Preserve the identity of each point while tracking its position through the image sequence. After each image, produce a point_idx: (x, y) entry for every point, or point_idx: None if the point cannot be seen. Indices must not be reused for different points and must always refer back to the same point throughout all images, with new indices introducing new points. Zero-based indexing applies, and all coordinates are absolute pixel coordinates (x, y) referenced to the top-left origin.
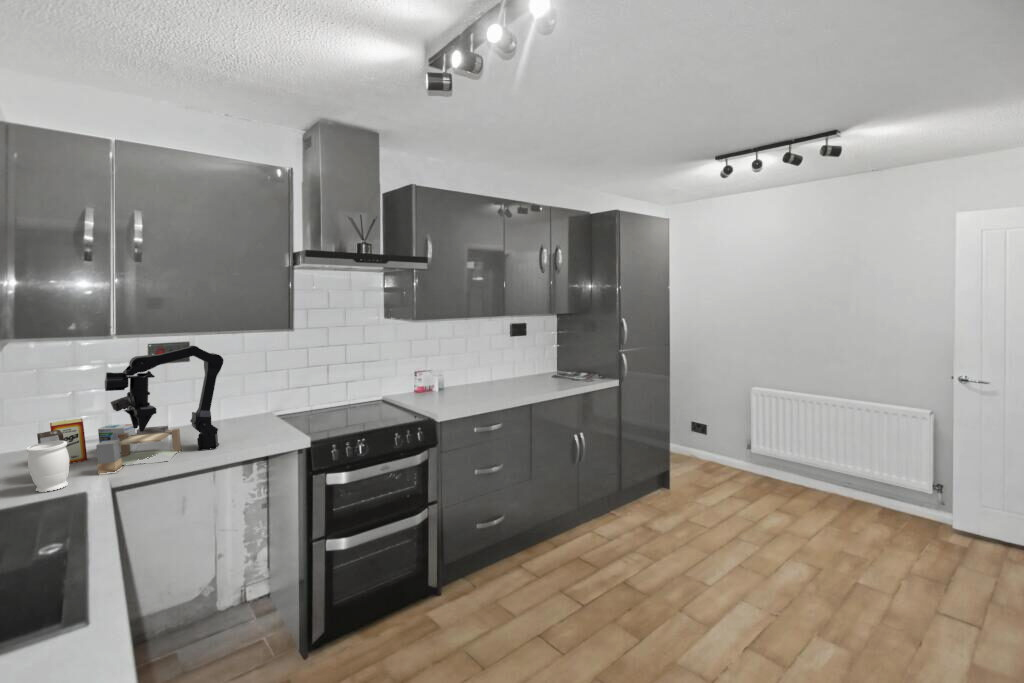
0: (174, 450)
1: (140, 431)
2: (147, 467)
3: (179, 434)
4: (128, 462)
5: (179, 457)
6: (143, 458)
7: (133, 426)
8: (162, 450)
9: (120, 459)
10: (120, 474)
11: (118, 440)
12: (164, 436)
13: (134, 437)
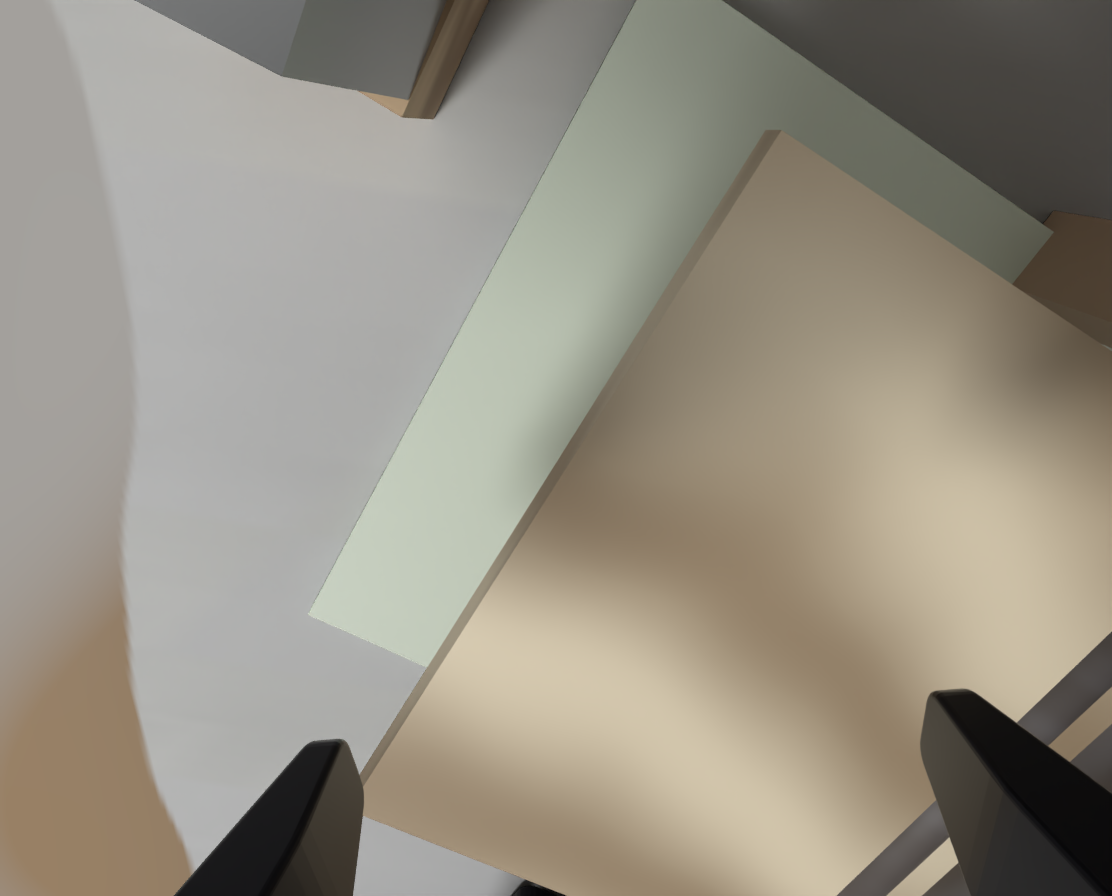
0: None
1: (307, 746)
2: (225, 391)
3: None
4: (611, 233)
5: None
6: None
7: (972, 736)
8: None
9: (365, 92)
10: (102, 36)
11: (292, 77)
12: (541, 883)
13: (1008, 520)
